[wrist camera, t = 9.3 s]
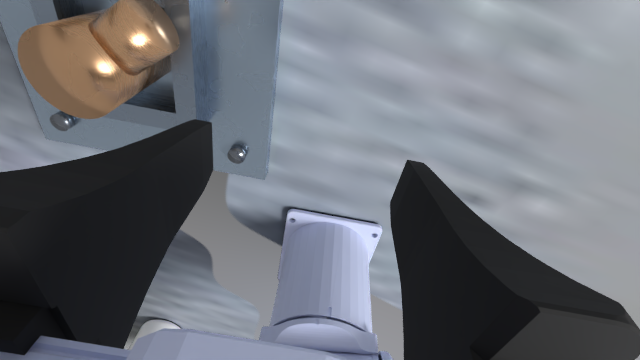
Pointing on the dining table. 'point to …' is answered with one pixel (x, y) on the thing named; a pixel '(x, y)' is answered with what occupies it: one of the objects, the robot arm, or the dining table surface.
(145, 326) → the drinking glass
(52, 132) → the flange plate
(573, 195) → the dining table surface
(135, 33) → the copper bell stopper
